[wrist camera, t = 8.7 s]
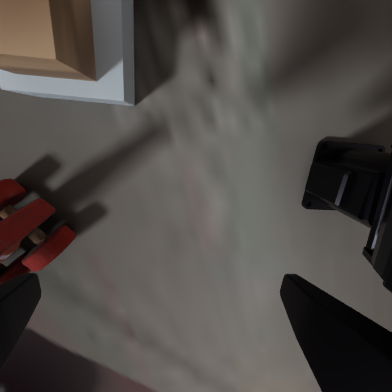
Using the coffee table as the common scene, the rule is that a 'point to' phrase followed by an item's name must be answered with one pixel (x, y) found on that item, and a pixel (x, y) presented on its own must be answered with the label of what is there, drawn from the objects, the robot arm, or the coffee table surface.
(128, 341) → the coffee table surface
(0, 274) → the toy fire truck
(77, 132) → the coffee table surface
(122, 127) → the coffee table surface
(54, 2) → the walnut cube
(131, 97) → the base block
